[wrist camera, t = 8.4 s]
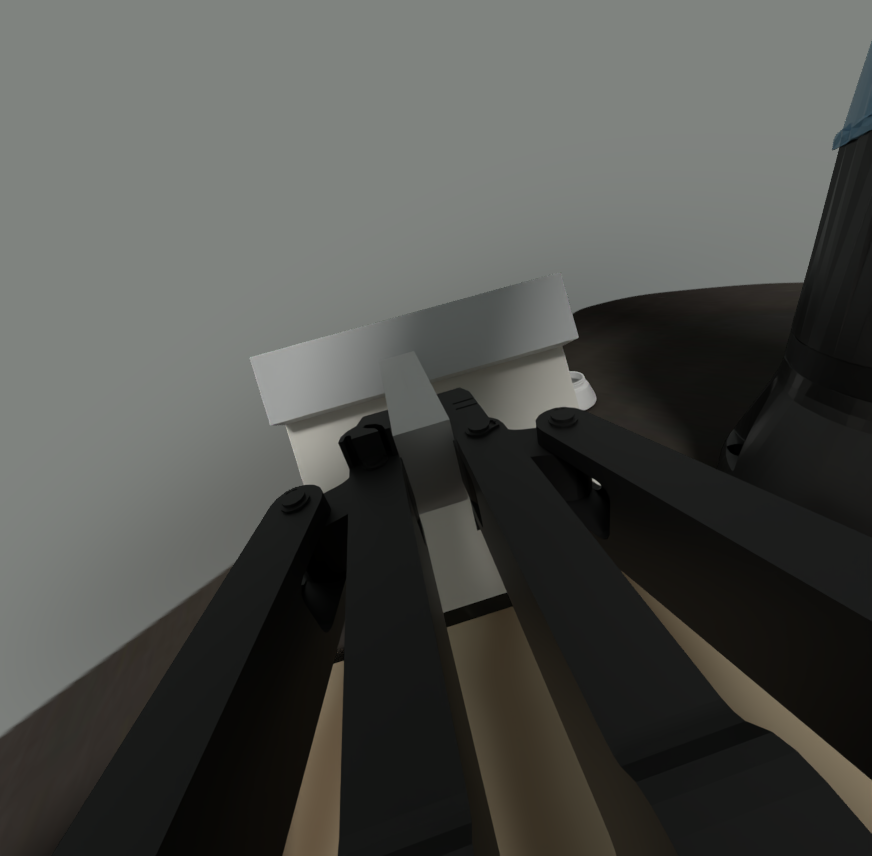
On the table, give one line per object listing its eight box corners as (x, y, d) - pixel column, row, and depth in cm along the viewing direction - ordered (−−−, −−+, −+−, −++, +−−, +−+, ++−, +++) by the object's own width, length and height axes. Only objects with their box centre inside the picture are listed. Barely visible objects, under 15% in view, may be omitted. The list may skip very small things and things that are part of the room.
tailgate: (607, 547, 19) (537, 295, 19) (642, 571, 16) (560, 272, 16) (355, 627, 19) (276, 367, 18) (344, 667, 16) (249, 357, 15)
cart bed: (664, 536, 21) (671, 475, 19) (974, 841, 10) (1075, 783, 8) (294, 653, 20) (256, 604, 18) (216, 1130, 9) (98, 1153, 7)
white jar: (601, 394, 37) (552, 391, 39) (601, 367, 35) (550, 366, 38) (588, 419, 33) (535, 414, 36) (587, 391, 32) (532, 387, 35)
